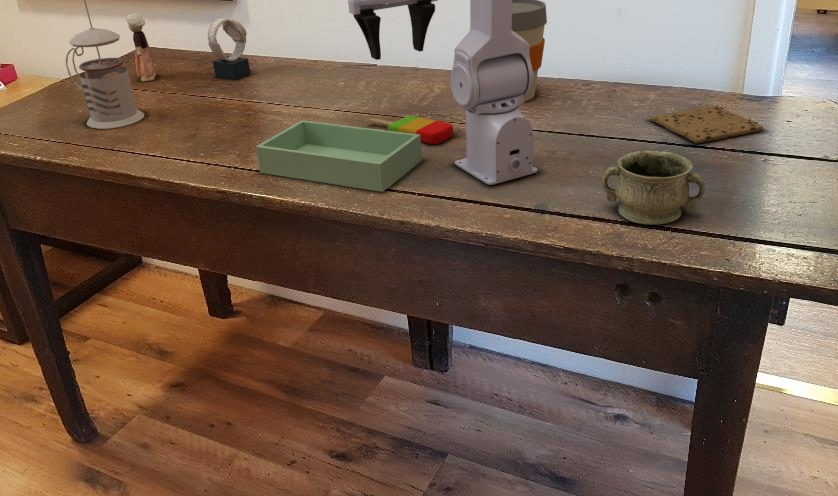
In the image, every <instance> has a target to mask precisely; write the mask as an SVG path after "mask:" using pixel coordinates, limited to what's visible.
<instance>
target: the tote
mask: <svg viewBox="0 0 838 496" xmlns="http://www.w3.org/2000/svg"><path fill="white" fill-rule="evenodd" d="M255 149H256V155H257V161H258V167H259V172H260V173H261V174H265V175H273V176H279V177H285V178H292V179H298V180H302V181H303V180H304V181H309V182H316V183H317V182H318V183H323V184H330V185H334V186H341V187H349V188H355V189H360V190H367V191H375V192H380V193H383V192H385V190H387V189H389V188H390V187H391V186H392V185H394V184H395V183H396V182H397V181H398V180H400V179H402V177H404V176H405V175H406V174H408V172H410V171H412V169H414V168H415V167H416V166H417V165H418V164H420V163H421V162H422V161H423V160H422V159H423V158H422V142H421V140H420V135H419V134H411V133H403V132H394V131H388V130H385V129H379V128H378V129H377V128H370V127H361V126H352V125H345V124H338V123H337V124H336V123H329V122H320V121H311V120H303V119H302V120H300V121H298V122H296V123H295V124H293V125H291V126H289V127H288V128H286V129H284V130H282V131H281V132H279V133H277V134H275V135H274V136H272V137H270V138H268V139H267V140H265V141H263V142H261V143H260V144H257V145H256V146H255Z"/></svg>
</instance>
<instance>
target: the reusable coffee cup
mask: <svg viewBox="0 0 838 496" xmlns="http://www.w3.org/2000/svg"><path fill="white" fill-rule="evenodd" d="M547 23H548V16H547V5H546V3H545V1H542V0H512V28H511V30H512V31H514V32H515V33H517V34H518V35H519V36H521V37H522V38H523V39H524V40H525V41H526V42H527V43H528V44H529V45H530V50H529V55H530V62H531V65H532V69H533V82H532V86H531V89H530V91H529V93H528V94H527V95H525V96H524V102H527V101H530V100H532V99H533V98H534V97H535V95H536V87H537V81H538V74H539V70H540V69H541V67H542V63H543V57H544V49H545V43H546V39H545V38H544V32H545V25H547Z"/></svg>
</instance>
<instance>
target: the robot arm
mask: <svg viewBox="0 0 838 496" xmlns="http://www.w3.org/2000/svg"><path fill="white" fill-rule="evenodd" d="M437 1H438V0H347V3H348V5H347V6H348V13H349V14H351V15H352V16H353V18H354V20H355V22H356V23H357V24H358V27H359V28H360V30H361V32H362V34H363V37H364V39H365V40H366V44H367V47H368V50H369V54H370V57H371V59H374V60H375V61H379V60H381V59H382V58H381V57H382V52H381V50H382V49H381V42H380V41H381V39H380V31H381V30H380V29H381V16H379V15H377V13H376V12H375V11H379V10H384V9H386V10H387V9H391V8H396V7H402V6H403V7H404V6H407V9H408V13H409V17H410V19H409V20H410V24H411V37H412V47H413V50H415V51H417V52H423V51H424V48H425V43H426V42H425V41H426V37H427V33H428V29H429V25H430V23H431V20H432V19H433V16H434V14H435V12H436V4H435V3H433V2H437ZM469 3H470V4H469V5H470V6H469V7H470V8H469V11H470V12H469V14H470V17H469V18H470V21H469V27H470V28H469V31H468V32H467V33H466V35H465V36H464V37H463V38H462V39H461V41H459V43H458V44H457V45H456V46H455V48H454V56H453V63H452V64H453V65H452V68H451V71H450V77H449V84H450V90H451V94H452V96H453V98H454V100H455V101H456V102H457V104H458V105H459V106H460V107H461V108H463V109H464V112H465V142H466V143H465V152H466V154H465V155H466V157H465V158H461V159H456V160H454V165H456V166H457V167H458V168H459V169H461V170H463V171H465V172H466V173H467V174H470V175H471V176H473V177H475V178H476V179H478V180H479V181H481V182H483V183H484V184H486V185H488V186H493V185H498V184H500V183H501V184H502V183H504V182H508V181H511V180H515V179H518V178H522V177H526V176H530V175H533V174H537V173H538V168H537V167H535V166H533V160H534V159H533V158H534V157H533V153H534V131H533V127H532V124H531V122H530V121H529V120H528V119H527V118H526V117H524V115H523V114H522V111H521V109H520V106H521V105H523V104H524V103H525V101H524V96H525V95H527V94H528V93H529V91H530V89H531V86H532V82H533V69H532V65H531V62H530V55H529V50H530V45H529V44H528V43H527V42H526V41H525V40H524V39H523V38H522V37H521V36H519V35H518V34H517V33H515V32H514V31H512V30H511V28H512V0H470V1H469Z"/></svg>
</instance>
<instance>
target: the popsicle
mask: <svg viewBox="0 0 838 496" xmlns="http://www.w3.org/2000/svg"><path fill="white" fill-rule="evenodd" d="M369 120H370V122H371V123H375V124H376V123H377V124H381V125H385V126H387V131H394V132H403V133H411V134H419V135H420V140H421V143H422V144H427V145H438V144H440V143H442V142H444V141H447V140H448V139H450V138H451V137H453V135H454V126H453V124H451V123H449V122H445V121H440V120H435V119H430V118H426V117H419V116H416V115H410V114H409V115H406V116H405V117H402V118H400V119H399V120H396V121H391V120H385V119H380V118H375V117H372V118H370V119H369Z"/></svg>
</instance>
